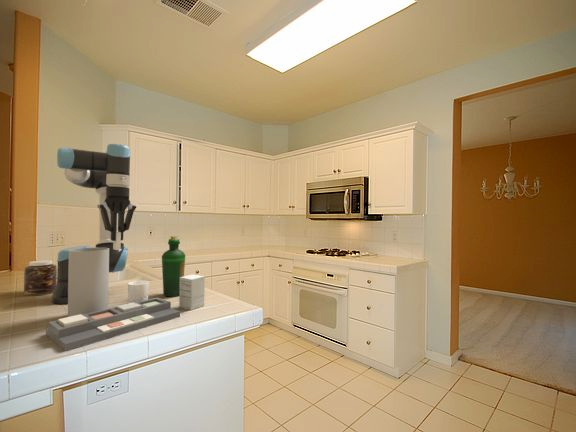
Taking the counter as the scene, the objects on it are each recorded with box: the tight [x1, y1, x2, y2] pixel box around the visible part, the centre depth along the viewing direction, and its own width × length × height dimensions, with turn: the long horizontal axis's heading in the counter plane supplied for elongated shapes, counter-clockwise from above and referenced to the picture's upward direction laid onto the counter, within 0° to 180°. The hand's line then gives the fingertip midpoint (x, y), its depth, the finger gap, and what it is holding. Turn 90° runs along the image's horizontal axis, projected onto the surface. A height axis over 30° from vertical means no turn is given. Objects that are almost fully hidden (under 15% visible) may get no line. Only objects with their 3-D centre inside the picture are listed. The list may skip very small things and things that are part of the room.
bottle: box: [161, 235, 186, 298], centre depth 138 cm, size 11×11×28 cm
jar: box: [23, 259, 58, 297], centre depth 138 cm, size 12×12×15 cm
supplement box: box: [178, 274, 205, 311], centre depth 121 cm, size 7×7×13 cm
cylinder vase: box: [67, 247, 110, 317], centre depth 108 cm, size 12×12×25 cm
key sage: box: [142, 301, 160, 307], centre depth 111 cm, size 6×6×2 cm
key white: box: [57, 314, 88, 327], centre depth 91 cm, size 6×6×2 cm
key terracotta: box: [91, 312, 113, 319], centre depth 98 cm, size 6×6×2 cm
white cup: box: [127, 279, 150, 303], centre depth 120 cm, size 8×8×10 cm
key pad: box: [45, 297, 181, 352], centre depth 100 cm, size 18×36×4 cm, turn 144°
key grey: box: [115, 302, 141, 313], centre depth 105 cm, size 6×6×2 cm
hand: (116, 249), depth 108 cm, fingers closed
